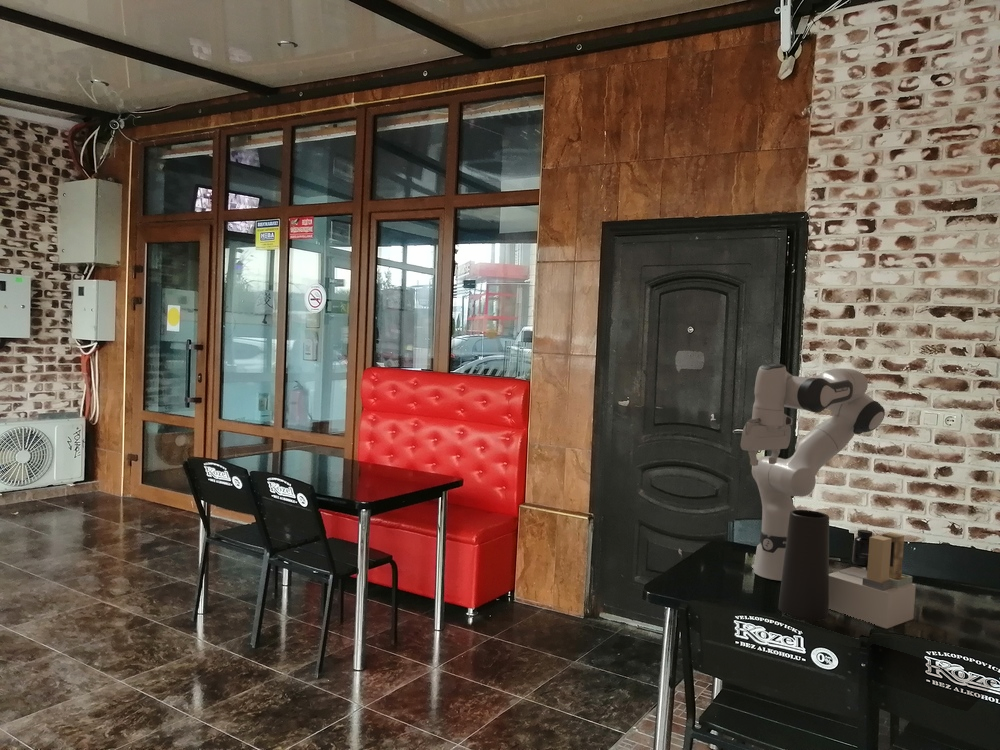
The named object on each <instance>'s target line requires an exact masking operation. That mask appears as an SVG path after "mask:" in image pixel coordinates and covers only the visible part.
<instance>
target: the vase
mask: <svg viewBox="0 0 1000 750" xmlns="http://www.w3.org/2000/svg"><path fill="white" fill-rule="evenodd" d="M829 574H830V516H829V515H828V514H826V513H823V512H821V511H816V510H810V509H809V510H807V509H797V510H793V511H791V512H790V516H789V524H788V532H787V541H786V549H785V557H784V565H783V573H782V581H780V588H779V589H780V590H779V598H778V604H777V605H778V607H777V608H778V611H779V610H780V611H781V612H783V613H785V614H788V615H790V616H792V617H791V618H793V617H796V618H795V619H797V620H798V619H799V620H802V621H815V622H817V621H823V619H824V620H827V619H828V618H829V613H830V612H829V611H830V610H828V609H829ZM780 611H779V612H780ZM781 612H780V613H781ZM783 613H782V614H783ZM785 614H784V615H785ZM790 616H789V617H790ZM827 617H828V618H827Z"/></svg>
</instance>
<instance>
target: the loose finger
mask: <svg viewBox="0 0 1000 750" xmlns="http://www.w3.org/2000/svg"><path fill="white" fill-rule="evenodd" d="M881 536H883V537H888V538H892V541H891V555H890V569H889V578H890V579H894V580H900V579H903V578H906V577H904V576H901V574H903V573H902V572H903V560H904V545H905V542H904V541H905V535H904V534H899V533H896V532H895V533H894V532H885V533H882V535H881Z"/></svg>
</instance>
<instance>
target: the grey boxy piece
mask: <svg viewBox="0 0 1000 750" xmlns="http://www.w3.org/2000/svg"><path fill="white" fill-rule="evenodd" d="M891 541H892V538H888V537H883V536H882V535H878V534H877V535H872V537H870V539H869V553H868V567H866V568H867V570H866V569H863V568H860V567H855V566H851V567H847V568H843V569H839V570H837V571H834V572H829V609H831V610H835V611H838V612H840V613H844V614H846V615H845V616H847V615H848V616H847V617H850V616H851V617H850V618H853V617H854V618H853V619H856V618H857V619H856V620H859V619H861V620H860V621H862V620H864V621H863V622H865V621H866V623H868V622H870V623H869V624H871V623H872V624H871V625H874V624H875V625H874V626H877V627H880V628H883V629H886V630H887V629H890V628H892V627H895V626H898V625H900V624H903V623H906V622H908V621H911V620H913V619H914V615H915V613H914V612H915V599H916V587H917V584H914V583H913V576H912V575H908V574H904V573H901V576H904V577H906V578H903V579H900V580H894V579H890V578H889V569H890V555H891ZM831 610H830V611H831ZM840 613H839V614H840ZM844 614H843V615H844Z"/></svg>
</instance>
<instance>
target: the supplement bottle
mask: <svg viewBox="0 0 1000 750" xmlns="http://www.w3.org/2000/svg"><path fill="white" fill-rule="evenodd" d="M873 535H874V534H873V531H872V530H870V529H869V530H868V529H858V530H857V536H856V537H855V538H854V539H853V545H852V558H851V562H852V563H853V564H854V565H856V566H860V567H866V568H868V553H869V539H870V537H872V536H873Z"/></svg>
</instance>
